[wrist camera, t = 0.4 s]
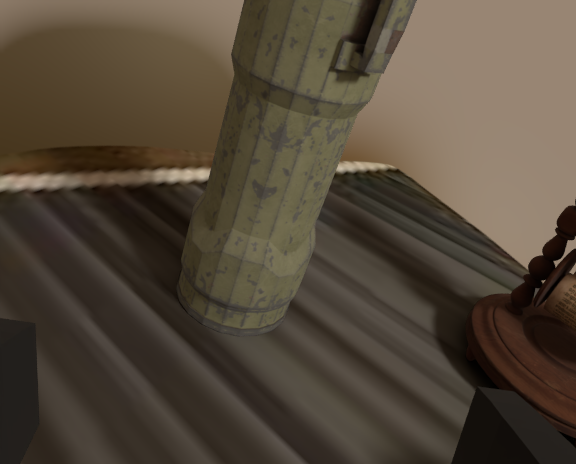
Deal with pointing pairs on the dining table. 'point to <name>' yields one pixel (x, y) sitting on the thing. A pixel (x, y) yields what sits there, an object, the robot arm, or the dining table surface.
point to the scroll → (534, 333)
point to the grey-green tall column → (280, 152)
